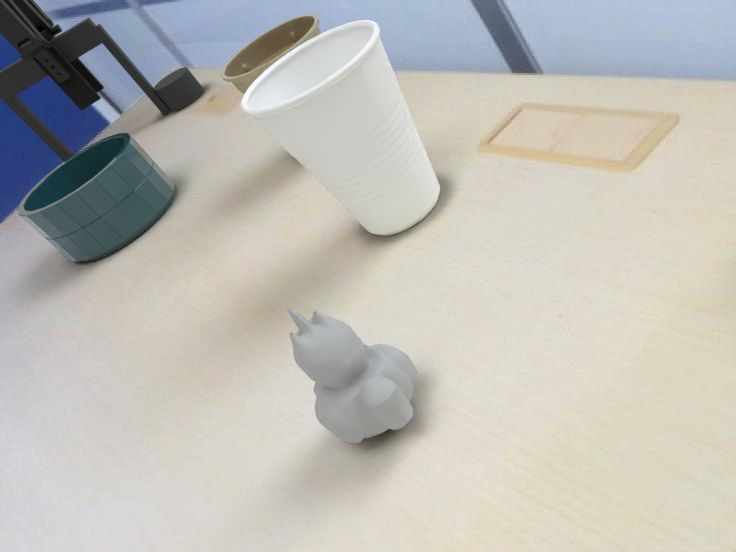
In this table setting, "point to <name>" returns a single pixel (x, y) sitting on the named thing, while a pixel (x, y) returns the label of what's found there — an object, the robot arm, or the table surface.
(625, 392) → the table surface
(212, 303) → the table surface
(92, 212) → the teal short open cylinder
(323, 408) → the grey horned figurine
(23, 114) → the dark grey frame
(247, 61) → the flower pot
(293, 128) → the cup
